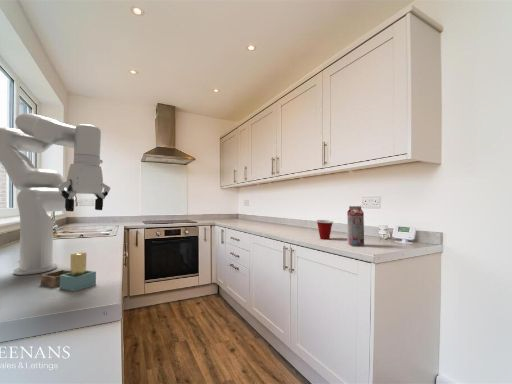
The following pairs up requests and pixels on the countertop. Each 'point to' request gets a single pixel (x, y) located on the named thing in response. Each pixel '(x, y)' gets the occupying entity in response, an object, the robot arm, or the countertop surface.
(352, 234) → the juice carton
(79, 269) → the gold domed peg
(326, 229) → the plastic cup
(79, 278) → the block
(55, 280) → the socket block
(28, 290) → the countertop surface
